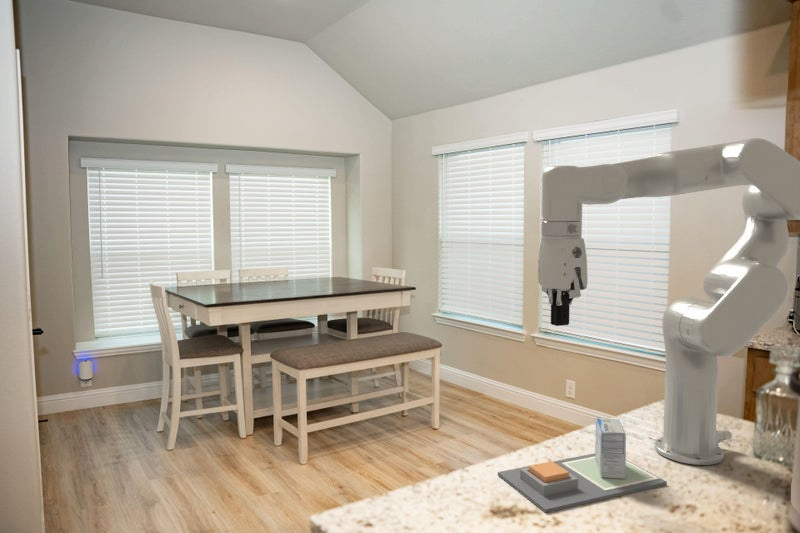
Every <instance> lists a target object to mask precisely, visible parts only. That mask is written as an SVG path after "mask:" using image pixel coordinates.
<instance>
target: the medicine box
mask: <svg viewBox="0 0 800 533" xmlns="http://www.w3.org/2000/svg"><path fill="white" fill-rule="evenodd" d="M626 436H627V435H626V432H625V429H624V428H623V425H622V423H621V421H620V419H617V418H608V417H607V418H606V417H605V418H603V417H601V418H600V417H599V418H598V417H597V418H595V445H594V446H595V452H594V453H595V459H596V463H597V466H598V469H599V472H600V476H601V477H603V478H615V479H625V468H626V460H627V458H626V455H627V454H626V451H627V450H626V449H627V444H626V442H627V437H626Z"/></svg>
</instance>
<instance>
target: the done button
mask: <svg viewBox="0 0 800 533" xmlns="http://www.w3.org/2000/svg"><path fill="white" fill-rule="evenodd" d="M528 466H529V472H530V473H531V474H533V475H534V476H535V477H537V478H538V479H540V480H541V481H542V482H544V483H548V482H553V481H558V480H563V479H568V478H569V472H568V471H566V470H565V469H563V468H562V467H560V466H559V465H557V464H556V463H554V462H553V461H551V460H550V461H545V462H541V463H540V462H539V463H536V464H530V465H528Z"/></svg>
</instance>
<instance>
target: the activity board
mask: <svg viewBox="0 0 800 533" xmlns="http://www.w3.org/2000/svg"><path fill="white" fill-rule="evenodd" d="M552 462H554V463H556V464H557V465H559V466H560V467H562V468H563V469H565V470H566V471H568V472H569V478H568V479H563V480H558V481H553V482H548V483H544V482H542V481H541V480H540V479H538V478H537V477H535V476H534V475H533V474H531V473H530V472H529V466H530V465H528V466H522V467H518V468H513V469H507V470H503V471H501V470H500V471H497V476H498V477H499V478H501V479H502V480H503V481H504V482H505V483H506V484H508V485H509V486H510V487H511V488H513V489H514V490H516V491H517V492H518V493H520V495H522V496H523V497H524V498H526V499H527V500H528V501H529V502H531V503H532V504H533V505H534V506H535V507H538V509H540V511H542V512H544V513H545V514H546V513H551V512H555V511H560V510H565V509H568V508H572V507H577V506H581V505H586V504H591V503H594V502H599V501H603V500H607V499H613V498H616V497H620V496H624V495H625V496H626V495H628V494H634V493H637V492H638V493H639V492H642V491H647V490H651V489H655V488H659V487H663V486H667V485H668V482H667V480H664V479H663V478H661V477H660V476H657V475H655V474H653V473H651V472H649V471H648V470H646V469H644V468H643V467H640V466H639V465H637V464H635V463H632V462H631V461H629V460H628V459H626V468H625V479H615V478H603V477H601V476H600V472H599V469H598V466H597V463H596V459H595V452H594V453H589V454H584V455H579V456H574V457H568V458H563V459H559V460H554V461H552Z"/></svg>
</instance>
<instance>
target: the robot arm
mask: <svg viewBox="0 0 800 533" xmlns="http://www.w3.org/2000/svg"><path fill="white" fill-rule="evenodd" d="M736 186H737V187H738V186H747V187H746V188H745V189H744V192H743V195H742V199H741V200H742V204H741V205H742V210H743V214H744V227H743V230H742V233H741V234H740V236H739V237H738V239H737V240H736V241H735V242H734V244H733V245H732V246H731V247H730V248H729V249H728V250H727V251H726V252H725V253H724V255H722V257H720V259H718V261H717V262H716V263H715V264H714V265H713V266H712V267H711V268H710V269H709V271H708V272H707V273H706V275H705V277H704V280H703V283H702V285H703V291H704V293H705V294H706V296H707V297H708V298H709V299H711V300H713V301H714V302H712V301H710V300H709V301H708V300H706V299H700V298H695V297H682V298H679V299H676V300H673V302H671V303H670V304H669V305H668V306H667V307H666V309H665V311H664V312H663V316H662V334H663V335H662V336H663V340H664V349H665V374H664V376H665V377H664V378H665V380H664V401H663V402H664V404H663V405H664V406H663V430H662V431H663V435H662V437H659V438H657V439H656V440H655V441H654V449H655V451H656V452H657V453H658V454H659V455H660V456H663V457H665V458H667V459H670V460H672V461H675V462H678V463H682V464H689V465H695V466H710V465H716V464H719V463H721V462H723V460H724V459H725V458H724V456H725V452H724V450H723V449H722V448H721V447H720V446H719V444H720V443H721V442H722V441H727V440H730V439H732V433H731V431H730V430H728V429H723V430H719V431H718V430H717V415H718V414H717V413H718V389H719V361H718V357H719V358H720V357H721V358H722V357H723V358H724V357H729V356H732V355H734V354H737V353H738V352H740V351H741V350H742V349H743V348H745V347H746V346H747V344H749V343H750V342H751V341H752V339H753V338H754V337H755V336H756V335H757V334H758V333H760V331H761V330H762V329H763V328H764V326H766V324H768V323H769V321H770V320H771V319H772V318H773V316H775V315H776V314H777V312H778V311H779V310H780V309H781V307H782V306H783V304H784V302H785V300H786V298H787V295H788V290H789V287H788V286H789V285H788V284H789V283H788V280H787V277H786V274H785V273H784V272H783V271H782V269H781V268H780V267H778V265H779V263H781V261H783V259H784V257H785V256H786V253H787V251H788V248H789V242H790V241H789V240H790V239H789V230H788V229H789V228H788V222H787V220H788V221H789V220H790V221H792V220H793V221H800V160H798V159H797V158H795V157H794V156H793V155H791V154H790V153H789V152H788V151H785V150H784V149H783V148H781V147H780V146H778V145H776V144H775V143H773V142H771V141H769V140H767V139H764V138H758V137H757V138H756V137H755V138H754V137H753V138H748V139H743V140H737V141H731V142H725V143H724V142H723V143H720V144H719V143H718V144H713V145H706V146H699V147H693V148H686V149H680V150H679V149H677V150H671V151H667V152H666V151H665V152H662V153H657V154H653V155H649V156H645V157H642V158H639V159H634V160H628V161H622V162H616V163H603V164H602V163H601V164H596V165H590V166H577V165H576V166H575V165H552V166H548V167H546V168H545V169H544V170H543V171H542V176H541V226H540V227H541V231H540V233H541V236H540V238H541V239H540V245H539V252H538V262H537V281H538V284H539V285H540V286H541V291H542V292H543V293H545V294H546V295H547V296H548V303H549V304H550V324H551V325H552V326H555V327H560V326H569V324H570V306H571V305H572V304H573V300H574V299H577V298H581V295H582V294H581V291H583V290H586V289H587V287H588V259H587V250H586V244H585V239H584V238H582V235H583V234H582V233H583V232H582V231H583V229H582V227H583V205H587V206H588V205H589V206H590V205H609V204H612V203H616V202H618V201H620V200H625V199H626V200H627V199H636V198H661V197H669V196H679V195H685V194H690V193H697V192H703V191H711V190H718V189H723V188H731V187H736Z"/></svg>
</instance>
